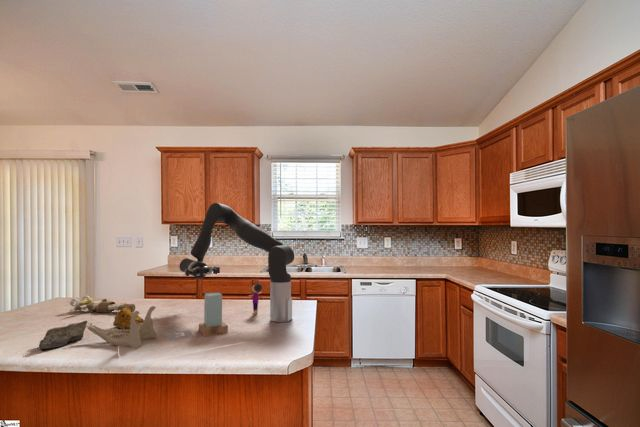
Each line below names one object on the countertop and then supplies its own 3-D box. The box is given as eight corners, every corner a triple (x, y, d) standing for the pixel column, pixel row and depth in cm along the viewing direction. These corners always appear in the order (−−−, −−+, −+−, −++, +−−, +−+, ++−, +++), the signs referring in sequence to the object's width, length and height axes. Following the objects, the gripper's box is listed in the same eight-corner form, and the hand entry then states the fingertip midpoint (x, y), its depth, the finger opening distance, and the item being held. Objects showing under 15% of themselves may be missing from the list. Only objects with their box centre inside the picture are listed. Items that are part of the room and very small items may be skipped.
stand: (221, 327, 138) (221, 320, 139) (227, 333, 131) (227, 325, 131) (198, 331, 134) (198, 323, 134) (204, 337, 126) (204, 329, 126)
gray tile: (189, 330, 134) (189, 329, 134) (194, 337, 126) (194, 336, 126) (165, 334, 129) (165, 333, 129) (168, 341, 121) (168, 340, 122)
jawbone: (158, 339, 124) (156, 302, 123) (140, 351, 114) (137, 312, 114) (99, 337, 128) (96, 302, 127) (77, 349, 118) (74, 311, 118)
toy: (258, 311, 165) (259, 280, 166) (268, 312, 163) (268, 281, 163) (245, 316, 156) (245, 284, 156) (254, 317, 153) (255, 284, 154)
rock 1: (71, 322, 130) (93, 317, 128) (74, 340, 129) (96, 335, 127) (25, 335, 113) (50, 329, 111) (28, 355, 112) (53, 349, 110)
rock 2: (137, 333, 143) (150, 318, 142) (123, 343, 135) (137, 327, 133) (118, 316, 144) (131, 300, 142) (103, 324, 135) (117, 308, 134)
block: (218, 321, 136) (218, 292, 137) (221, 325, 132) (222, 294, 132) (204, 323, 133) (204, 293, 134) (207, 327, 129) (207, 296, 129)
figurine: (147, 308, 174) (95, 304, 178) (147, 295, 174) (95, 292, 178) (112, 321, 150) (53, 317, 154) (113, 306, 150) (54, 302, 154)
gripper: (181, 262, 152) (188, 265, 138) (213, 260, 160) (222, 262, 146) (181, 279, 152) (188, 283, 138) (213, 276, 159) (223, 279, 146)
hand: (206, 272), depth 142 cm, fingers open, 8 cm apart
